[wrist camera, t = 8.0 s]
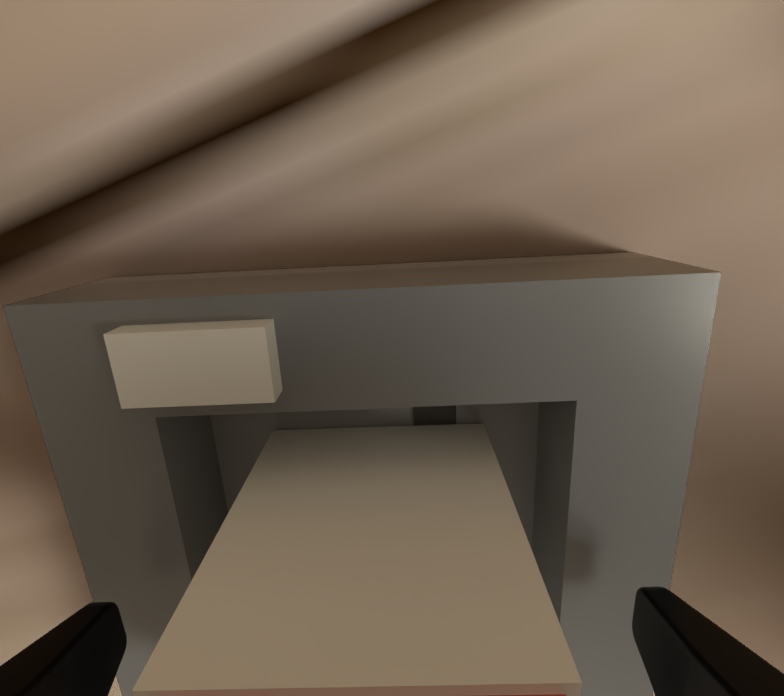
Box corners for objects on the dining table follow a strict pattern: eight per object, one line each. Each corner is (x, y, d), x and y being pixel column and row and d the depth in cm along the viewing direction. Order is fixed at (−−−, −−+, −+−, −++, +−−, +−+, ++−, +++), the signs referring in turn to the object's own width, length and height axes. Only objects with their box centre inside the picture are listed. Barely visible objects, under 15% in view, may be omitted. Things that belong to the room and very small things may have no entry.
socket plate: (632, 252, 10) (745, 278, 7) (590, 654, 13) (651, 799, 10) (109, 277, 10) (-25, 312, 7) (198, 664, 13) (136, 808, 10)
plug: (483, 423, 10) (600, 732, 4) (480, 592, 11) (565, 1001, 6) (273, 430, 10) (104, 741, 4) (295, 595, 11) (189, 1002, 6)
